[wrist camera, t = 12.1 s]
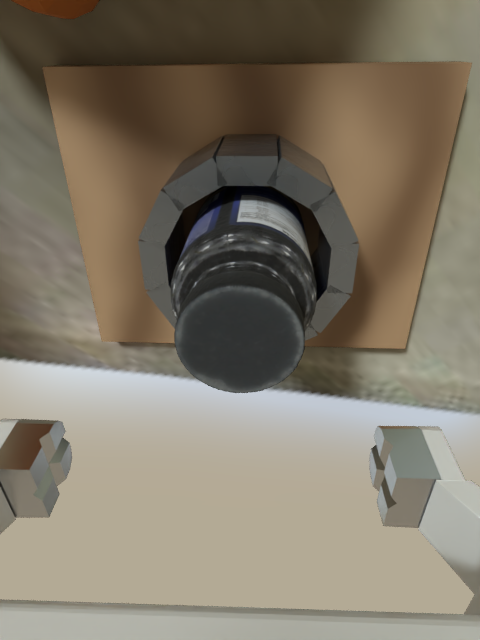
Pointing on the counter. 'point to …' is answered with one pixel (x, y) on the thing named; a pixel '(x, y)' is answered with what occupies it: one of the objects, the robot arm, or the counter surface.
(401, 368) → the counter surface
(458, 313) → the counter surface
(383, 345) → the collar base board
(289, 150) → the rosette collar
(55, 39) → the counter surface
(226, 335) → the pill bottle
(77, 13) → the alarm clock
